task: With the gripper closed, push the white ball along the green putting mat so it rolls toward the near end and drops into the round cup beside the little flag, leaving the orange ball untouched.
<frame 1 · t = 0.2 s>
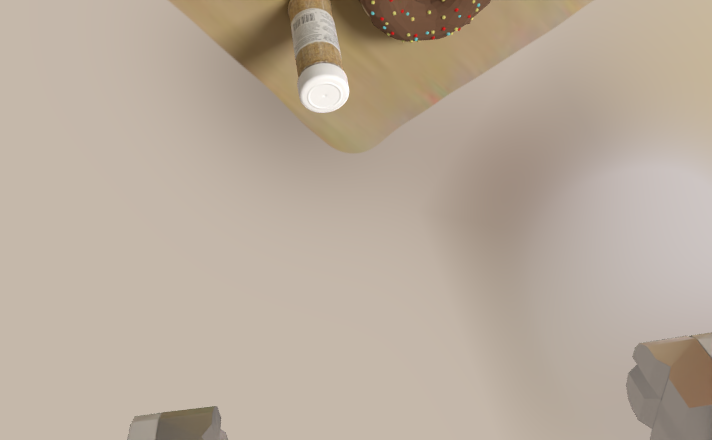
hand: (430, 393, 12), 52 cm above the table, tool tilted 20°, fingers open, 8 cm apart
sprinkles bottle: (309, 5, 65), on the table
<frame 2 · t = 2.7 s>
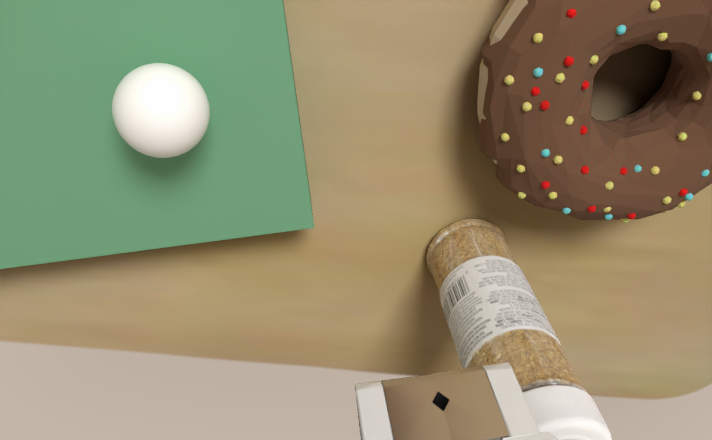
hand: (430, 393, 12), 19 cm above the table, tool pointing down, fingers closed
putting mat: (8, 87, 27), on the table
donut: (609, 53, 30), on the table
white ball: (161, 110, 24), point 4 cm above the table, touching putting mat
sprinkles bottle: (464, 246, 35), on the table
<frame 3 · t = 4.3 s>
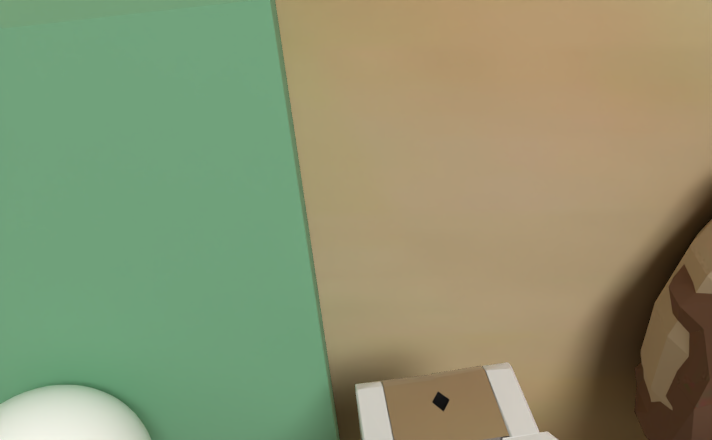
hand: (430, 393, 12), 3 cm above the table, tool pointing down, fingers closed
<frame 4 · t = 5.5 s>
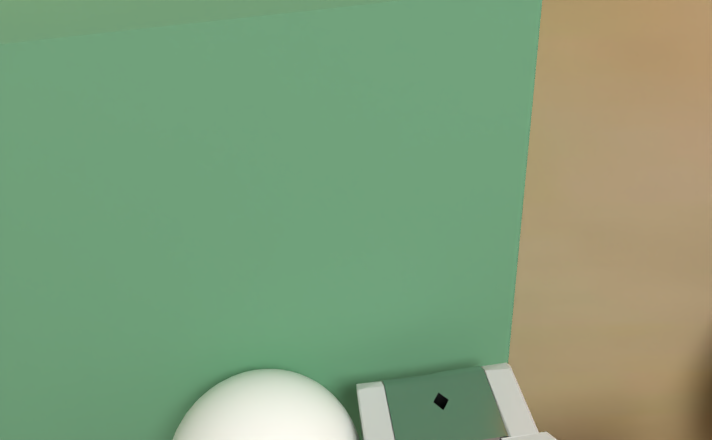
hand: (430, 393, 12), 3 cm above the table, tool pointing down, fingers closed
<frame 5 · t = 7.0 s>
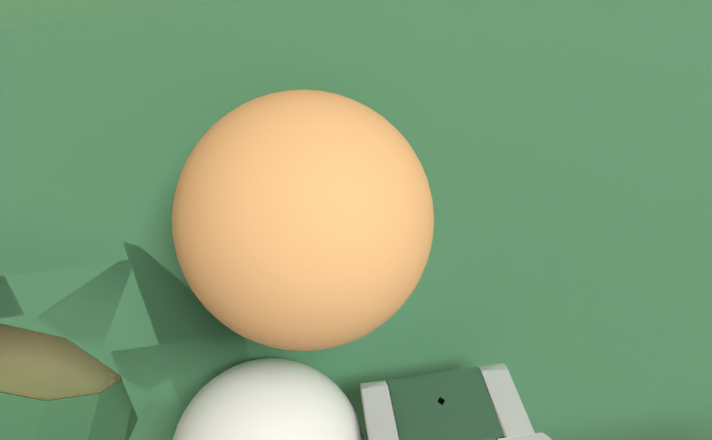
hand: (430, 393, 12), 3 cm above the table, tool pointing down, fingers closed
putting mat: (318, 289, 15), on the table
orange ball: (305, 220, 9), point 4 cm above the table, touching putting mat
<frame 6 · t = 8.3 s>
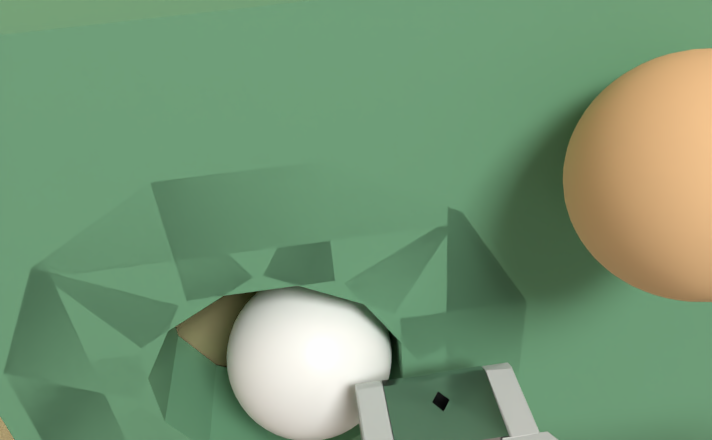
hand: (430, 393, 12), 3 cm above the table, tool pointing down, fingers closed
putting mat: (548, 264, 15), on the table
orange ball: (693, 176, 9), point 4 cm above the table, touching putting mat
white ball: (309, 354, 14), point 2 cm above the table, tilted 82°, touching gripper
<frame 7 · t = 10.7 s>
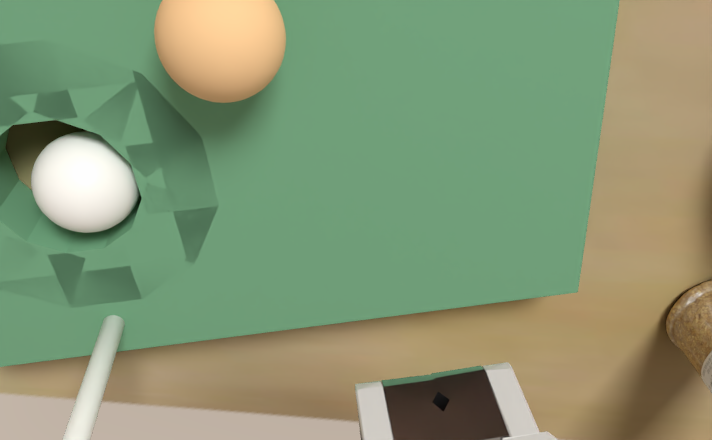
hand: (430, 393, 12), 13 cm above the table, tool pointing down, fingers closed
putting mat: (257, 135, 24), on the table
orange ball: (221, 37, 17), point 4 cm above the table, touching putting mat
white ball: (87, 182, 22), point 2 cm above the table, tilted 82°
sprinkles bottle: (706, 306, 31), on the table
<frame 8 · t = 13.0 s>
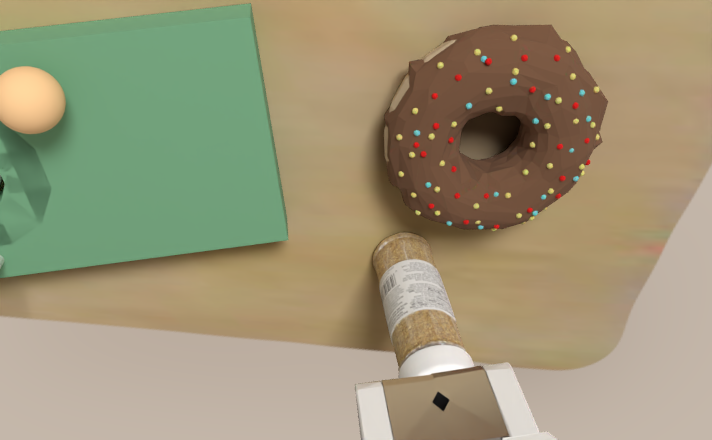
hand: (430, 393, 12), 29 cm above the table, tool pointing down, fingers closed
putting mat: (79, 146, 40), on the table
orange ball: (29, 100, 33), point 4 cm above the table, touching putting mat
donut: (482, 112, 42), on the table
sprinkles bottle: (401, 252, 48), on the table
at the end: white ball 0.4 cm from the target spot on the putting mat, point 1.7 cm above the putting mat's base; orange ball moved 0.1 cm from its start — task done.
